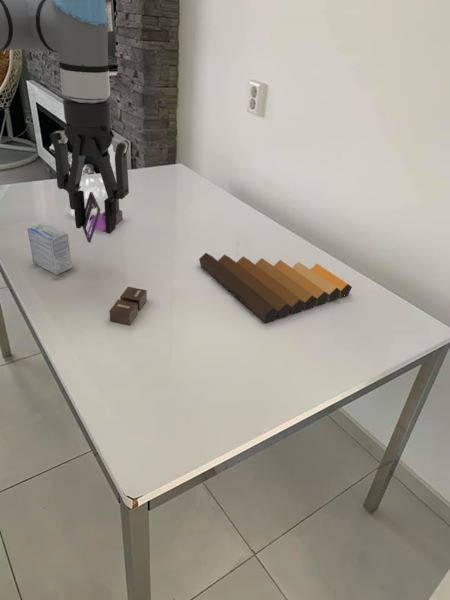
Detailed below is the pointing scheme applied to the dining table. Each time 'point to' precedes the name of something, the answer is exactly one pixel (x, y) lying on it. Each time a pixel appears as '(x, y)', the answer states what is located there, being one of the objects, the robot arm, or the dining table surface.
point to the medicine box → (50, 248)
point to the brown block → (116, 218)
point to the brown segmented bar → (128, 305)
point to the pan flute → (275, 285)
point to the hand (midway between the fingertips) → (96, 227)
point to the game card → (93, 217)
